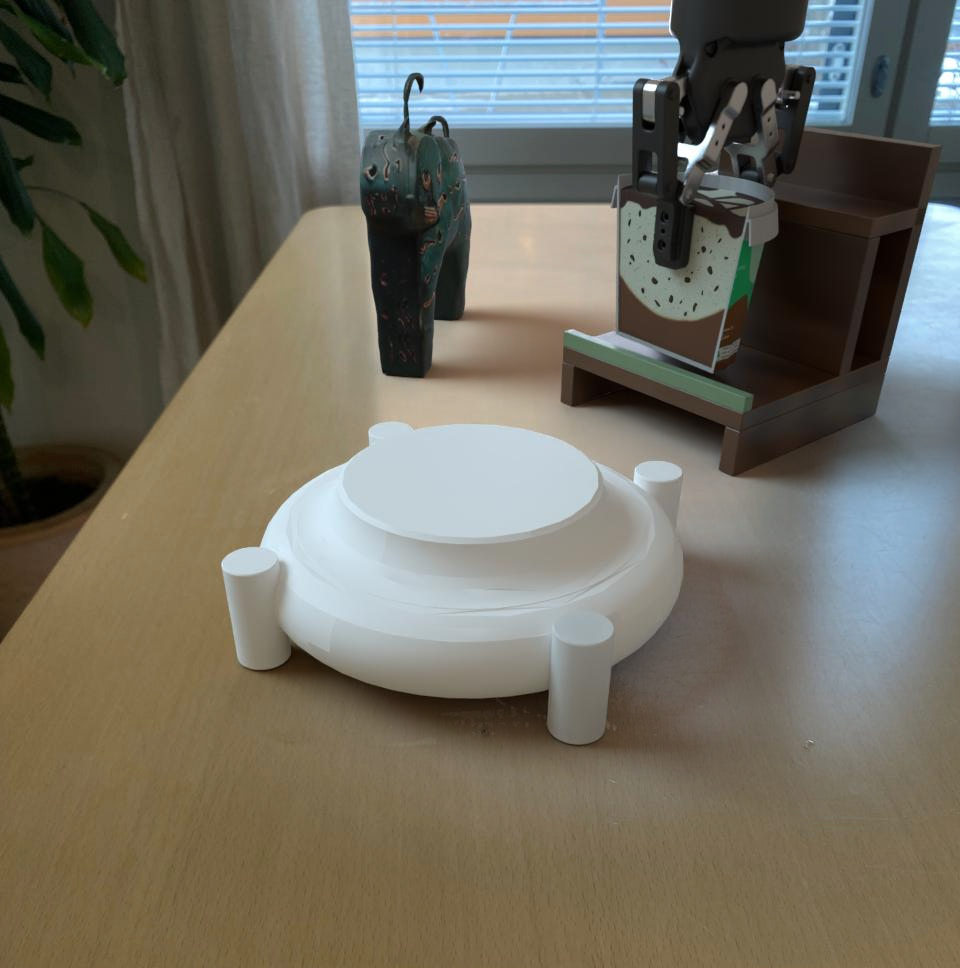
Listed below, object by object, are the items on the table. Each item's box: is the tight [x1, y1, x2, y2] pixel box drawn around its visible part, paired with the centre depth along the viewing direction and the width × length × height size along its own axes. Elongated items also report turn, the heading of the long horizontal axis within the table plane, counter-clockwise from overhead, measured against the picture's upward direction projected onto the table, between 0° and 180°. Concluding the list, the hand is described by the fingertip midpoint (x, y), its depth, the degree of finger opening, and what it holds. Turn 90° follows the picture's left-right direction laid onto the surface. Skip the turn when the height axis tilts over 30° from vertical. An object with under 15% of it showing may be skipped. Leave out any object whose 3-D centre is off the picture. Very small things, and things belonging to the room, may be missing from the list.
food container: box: [610, 171, 778, 374], centre depth 63 cm, size 12×6×10 cm, turn 34°
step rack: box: [560, 125, 943, 477], centre depth 66 cm, size 16×16×17 cm
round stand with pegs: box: [220, 421, 684, 745], centre depth 48 cm, size 24×24×7 cm
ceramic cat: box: [359, 72, 473, 378], centre depth 77 cm, size 20×6×20 cm, turn 168°
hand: (706, 256), depth 63 cm, fingers closed on food container, 6 cm apart
